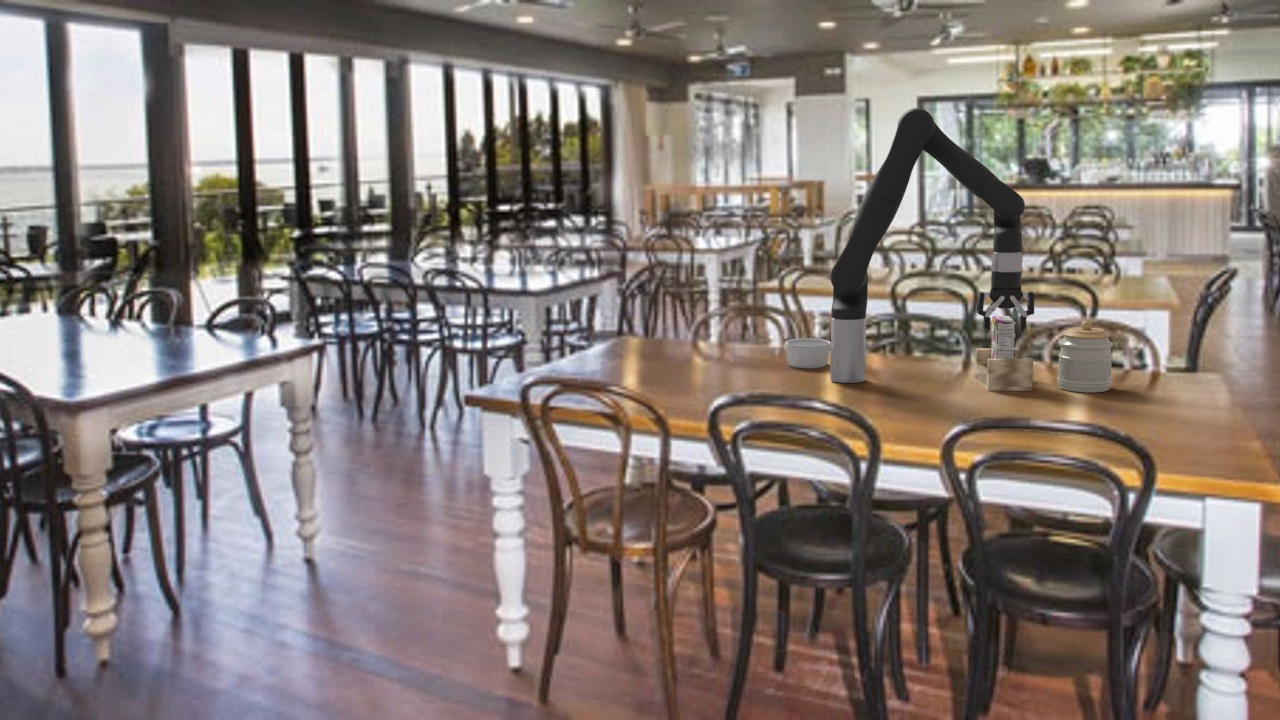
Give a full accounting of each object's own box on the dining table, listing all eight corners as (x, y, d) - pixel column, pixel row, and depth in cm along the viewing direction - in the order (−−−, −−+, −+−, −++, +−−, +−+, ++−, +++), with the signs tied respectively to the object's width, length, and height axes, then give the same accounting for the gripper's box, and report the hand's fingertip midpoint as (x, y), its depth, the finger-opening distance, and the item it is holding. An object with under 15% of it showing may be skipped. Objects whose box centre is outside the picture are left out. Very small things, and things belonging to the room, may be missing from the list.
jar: (1070, 381, 304) (1073, 315, 301) (1119, 387, 295) (1123, 319, 292) (1048, 389, 295) (1050, 321, 292) (1097, 395, 286) (1101, 325, 283)
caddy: (988, 390, 294) (989, 360, 293) (974, 377, 312) (975, 348, 310) (1032, 390, 293) (1033, 360, 292) (1016, 377, 311) (1017, 348, 309)
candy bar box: (989, 376, 308) (991, 315, 305) (1008, 376, 307) (1011, 315, 304) (994, 384, 297) (996, 321, 294) (1014, 384, 296) (1017, 321, 293)
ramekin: (833, 369, 329) (834, 345, 327) (787, 369, 329) (787, 346, 328) (827, 361, 342) (827, 338, 340) (782, 361, 342) (782, 338, 341)
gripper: (981, 271, 294) (979, 333, 297) (1038, 270, 293) (1035, 333, 295) (975, 268, 301) (974, 329, 304) (1031, 267, 300) (1029, 328, 303)
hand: (1004, 331), depth 300 cm, fingers open, 8 cm apart
